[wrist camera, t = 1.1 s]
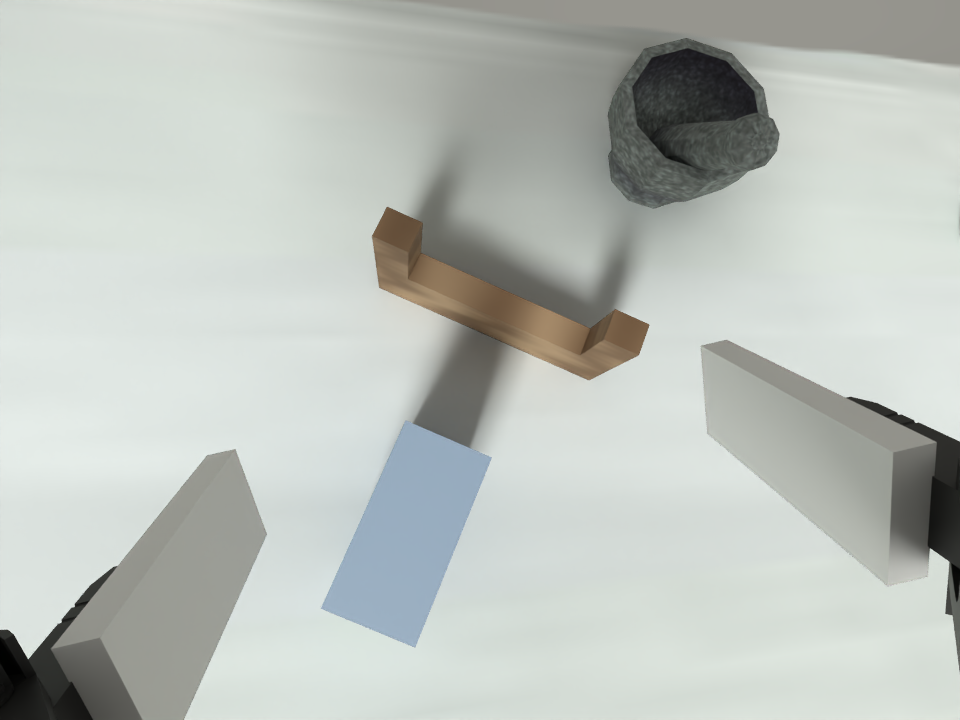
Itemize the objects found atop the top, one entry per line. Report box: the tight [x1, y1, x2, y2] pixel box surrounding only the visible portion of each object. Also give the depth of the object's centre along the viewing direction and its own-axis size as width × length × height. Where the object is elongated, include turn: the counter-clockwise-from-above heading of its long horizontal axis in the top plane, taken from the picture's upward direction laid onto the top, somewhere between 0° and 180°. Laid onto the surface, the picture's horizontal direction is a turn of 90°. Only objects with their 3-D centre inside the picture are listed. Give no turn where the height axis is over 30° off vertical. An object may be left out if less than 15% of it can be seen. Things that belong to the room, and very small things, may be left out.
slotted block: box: [321, 421, 492, 647], centre depth 28 cm, size 4×8×11 cm, turn 157°
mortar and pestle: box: [608, 38, 779, 208], centre depth 34 cm, size 11×9×12 cm
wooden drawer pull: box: [372, 207, 649, 380], centre depth 32 cm, size 15×2×8 cm, turn 67°
